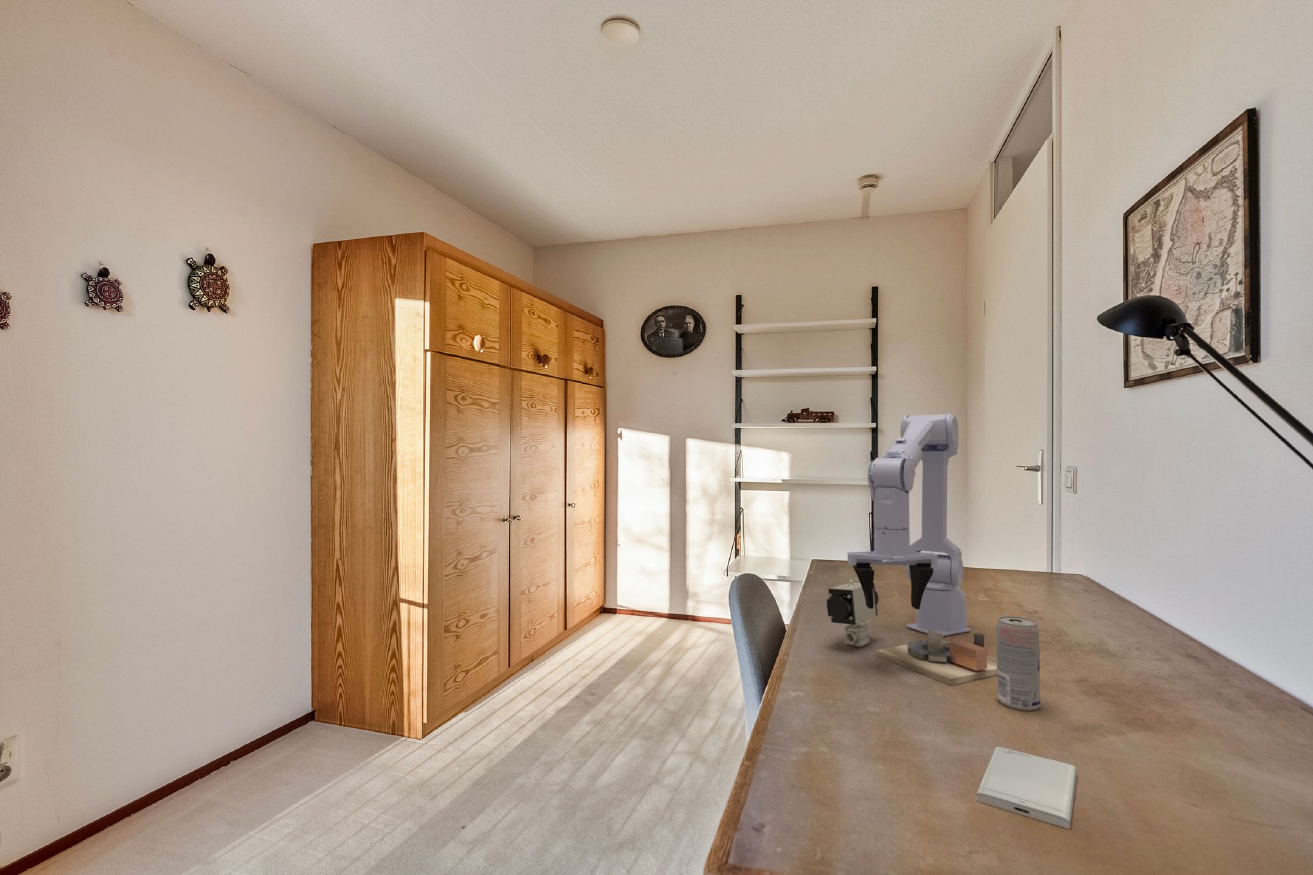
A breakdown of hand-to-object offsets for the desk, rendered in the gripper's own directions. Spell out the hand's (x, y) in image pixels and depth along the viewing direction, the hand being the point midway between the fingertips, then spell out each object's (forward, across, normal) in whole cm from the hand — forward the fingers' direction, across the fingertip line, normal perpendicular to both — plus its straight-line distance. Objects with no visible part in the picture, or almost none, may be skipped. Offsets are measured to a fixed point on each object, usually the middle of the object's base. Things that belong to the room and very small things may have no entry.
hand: (892, 607), depth 105 cm
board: (+10, +9, +2) cm, 14 cm away
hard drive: (+11, +3, -37) cm, 39 cm away
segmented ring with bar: (+9, +9, +1) cm, 13 cm away
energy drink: (+10, +13, -15) cm, 22 cm away
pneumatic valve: (+10, -4, +12) cm, 16 cm away
